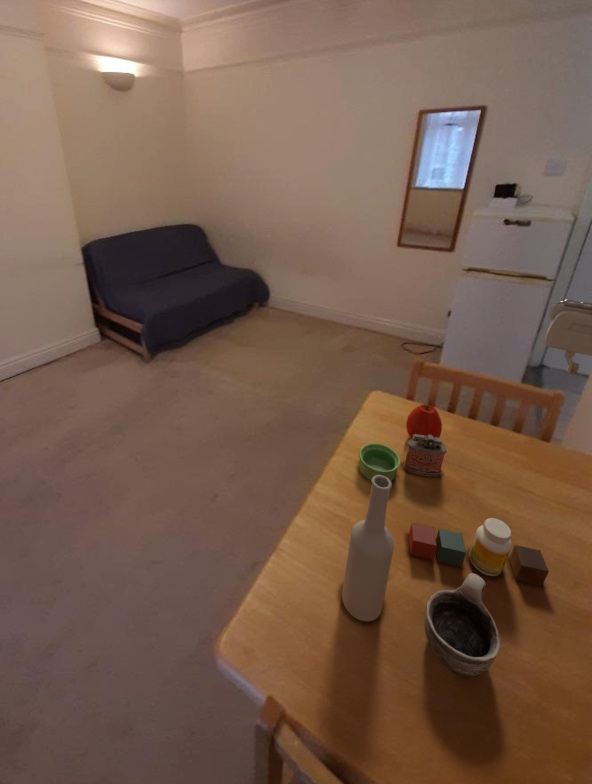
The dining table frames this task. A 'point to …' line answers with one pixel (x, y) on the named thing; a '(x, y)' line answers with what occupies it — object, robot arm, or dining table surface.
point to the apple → (424, 421)
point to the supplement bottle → (491, 547)
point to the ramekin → (378, 461)
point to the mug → (462, 628)
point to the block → (450, 547)
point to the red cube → (422, 541)
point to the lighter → (425, 455)
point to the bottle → (369, 557)
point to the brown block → (528, 565)
